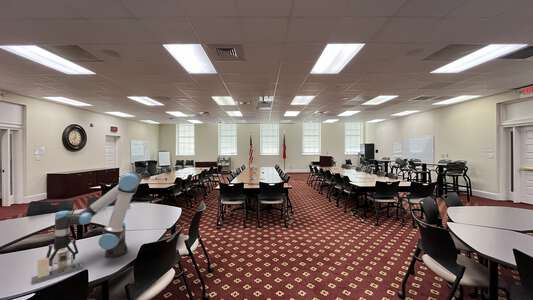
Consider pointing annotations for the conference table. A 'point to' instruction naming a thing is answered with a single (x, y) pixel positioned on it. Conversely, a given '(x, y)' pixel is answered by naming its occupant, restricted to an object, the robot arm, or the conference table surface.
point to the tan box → (62, 259)
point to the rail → (46, 275)
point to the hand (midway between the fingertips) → (62, 267)
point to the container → (55, 259)
